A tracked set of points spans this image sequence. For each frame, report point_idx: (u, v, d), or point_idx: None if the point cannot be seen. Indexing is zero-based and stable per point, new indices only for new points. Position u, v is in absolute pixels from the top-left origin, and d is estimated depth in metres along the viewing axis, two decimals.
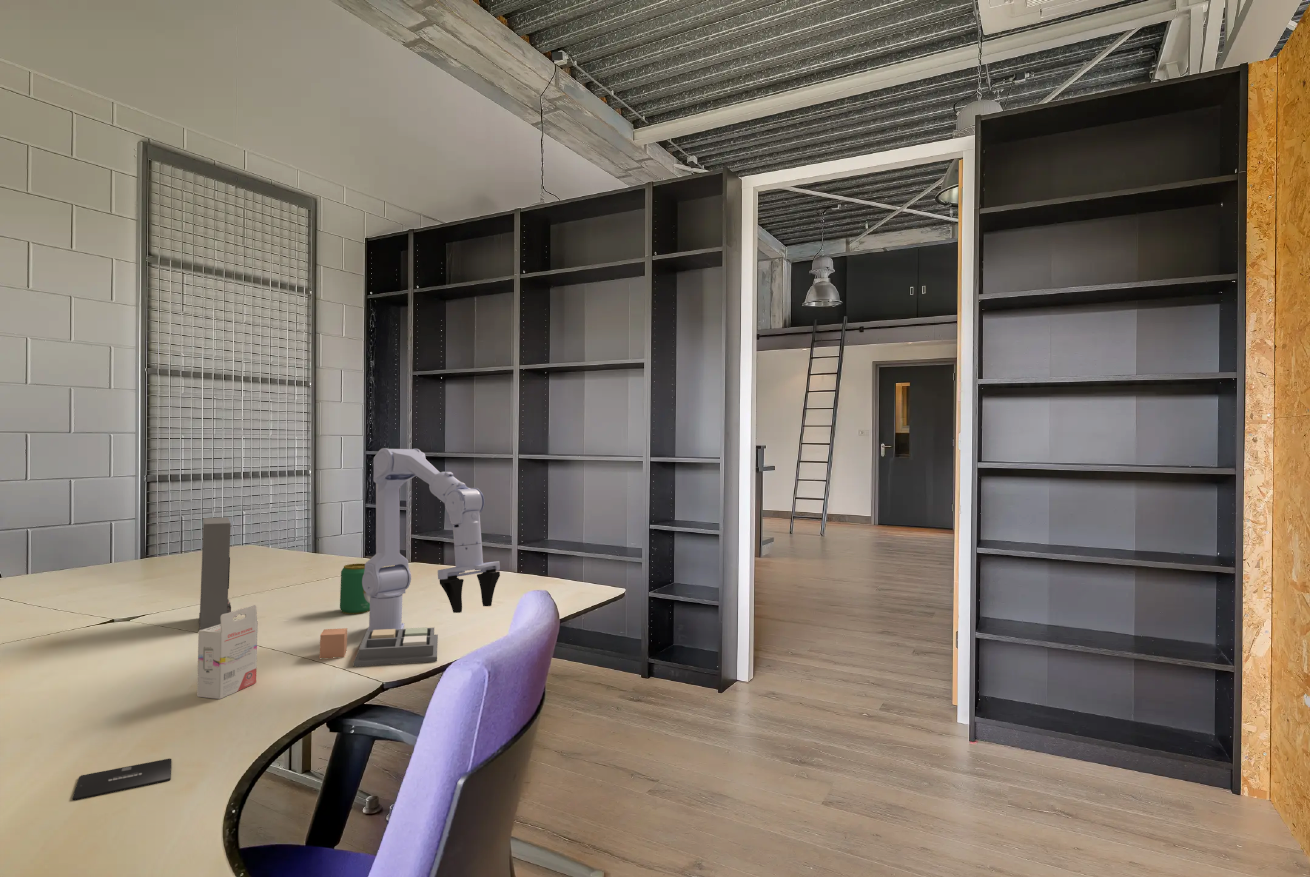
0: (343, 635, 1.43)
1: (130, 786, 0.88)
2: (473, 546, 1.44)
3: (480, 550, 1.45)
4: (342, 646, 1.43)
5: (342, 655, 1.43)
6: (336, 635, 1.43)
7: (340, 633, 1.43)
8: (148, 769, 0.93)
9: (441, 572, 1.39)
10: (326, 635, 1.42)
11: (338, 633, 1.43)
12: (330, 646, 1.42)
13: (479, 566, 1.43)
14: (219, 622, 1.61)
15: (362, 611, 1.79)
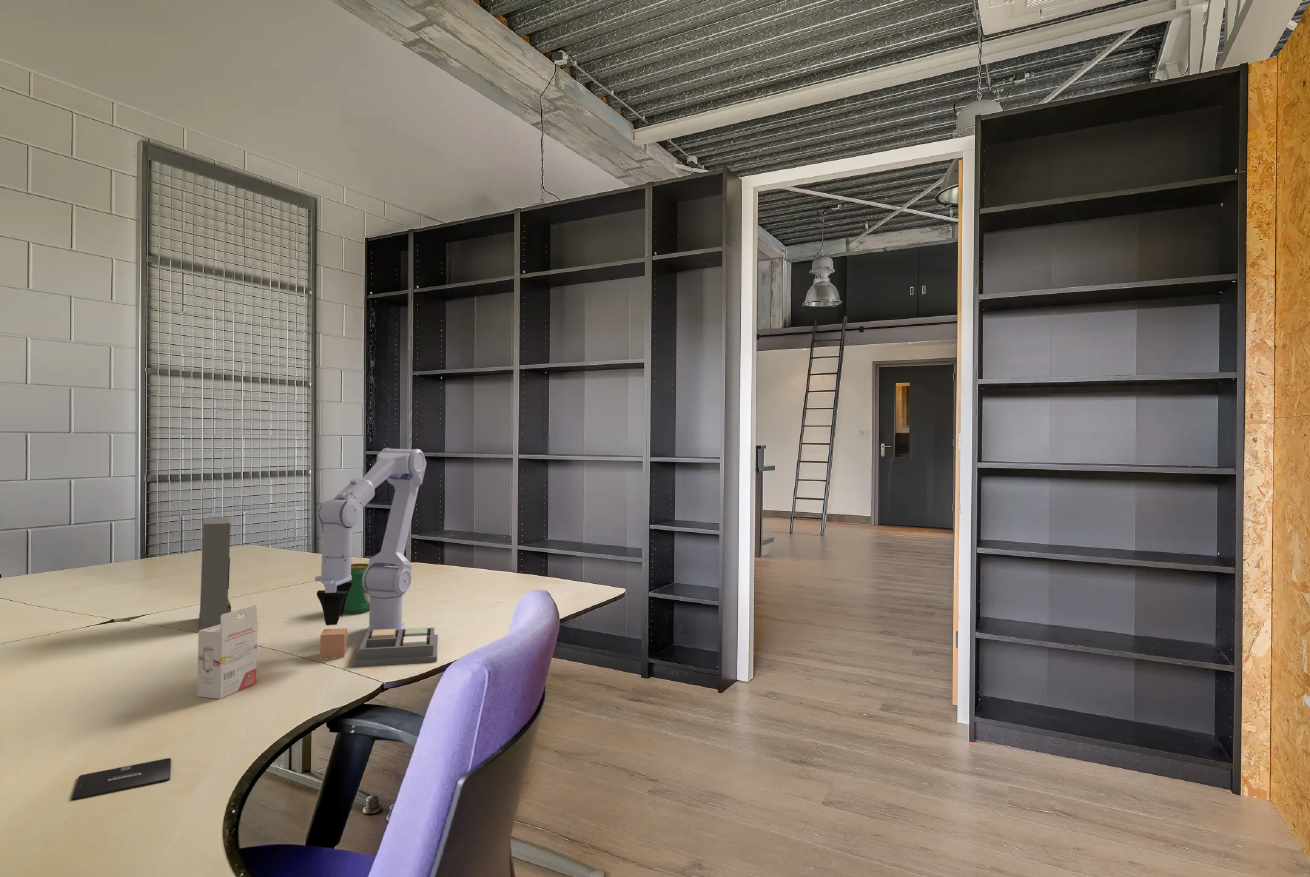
0: (343, 635, 1.43)
1: (129, 786, 0.88)
2: None
3: (322, 563, 1.43)
4: (342, 646, 1.43)
5: (342, 655, 1.43)
6: (336, 635, 1.43)
7: (340, 633, 1.43)
8: (147, 769, 0.93)
9: None
10: (326, 635, 1.42)
11: (338, 633, 1.43)
12: (330, 646, 1.42)
13: None
14: (219, 622, 1.61)
15: (362, 611, 1.79)
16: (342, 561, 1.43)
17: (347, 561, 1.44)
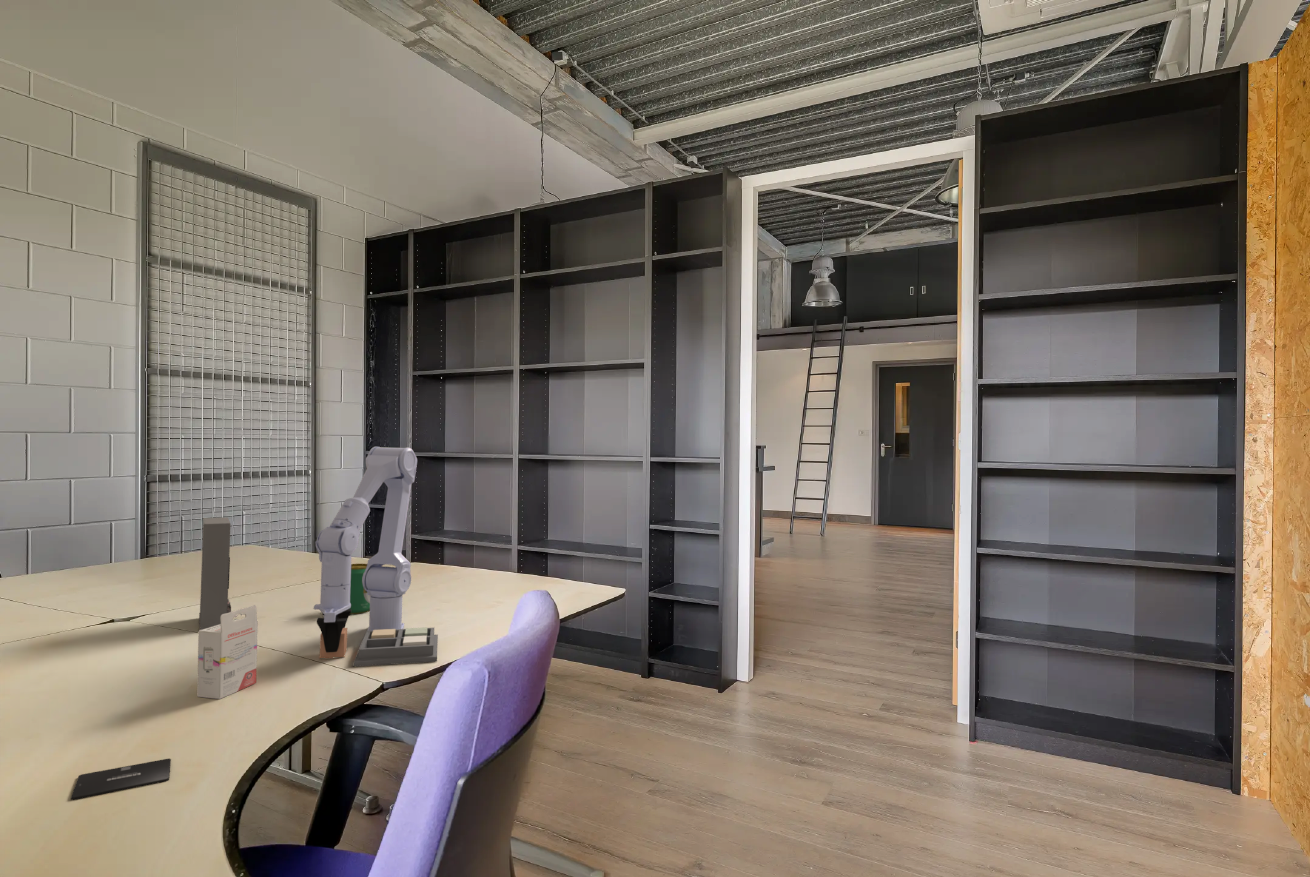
0: (343, 635, 1.43)
1: (128, 786, 0.88)
2: None
3: (321, 592, 1.43)
4: (342, 646, 1.43)
5: (342, 655, 1.43)
6: None
7: None
8: (147, 769, 0.93)
9: None
10: None
11: None
12: None
13: None
14: (219, 622, 1.61)
15: (362, 611, 1.79)
16: (341, 589, 1.43)
17: (346, 589, 1.44)
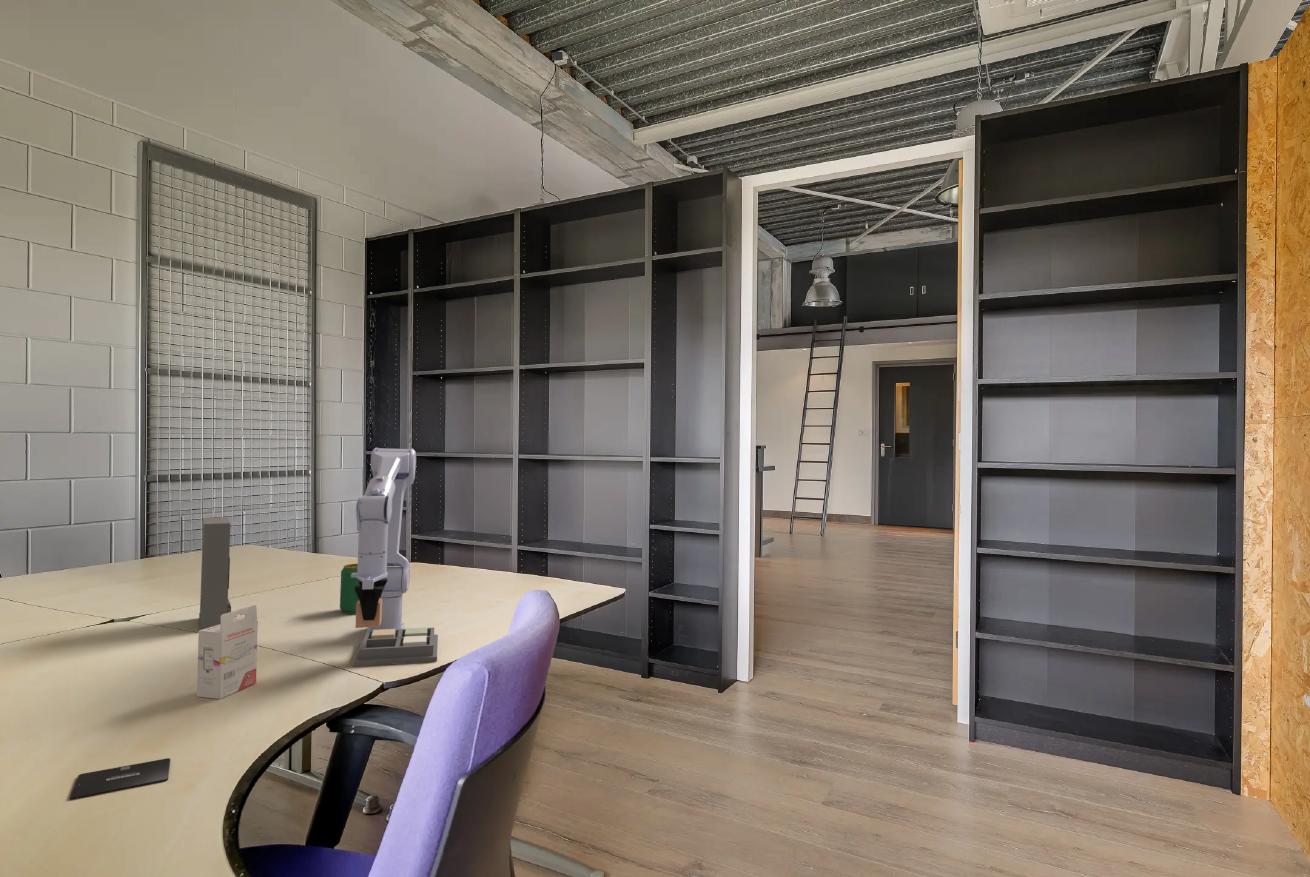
0: (379, 604, 1.42)
1: (127, 786, 0.88)
2: None
3: (358, 560, 1.42)
4: (378, 615, 1.42)
5: (378, 624, 1.42)
6: None
7: None
8: (146, 769, 0.93)
9: None
10: None
11: None
12: None
13: None
14: (219, 622, 1.61)
15: None
16: (378, 557, 1.42)
17: (383, 557, 1.43)
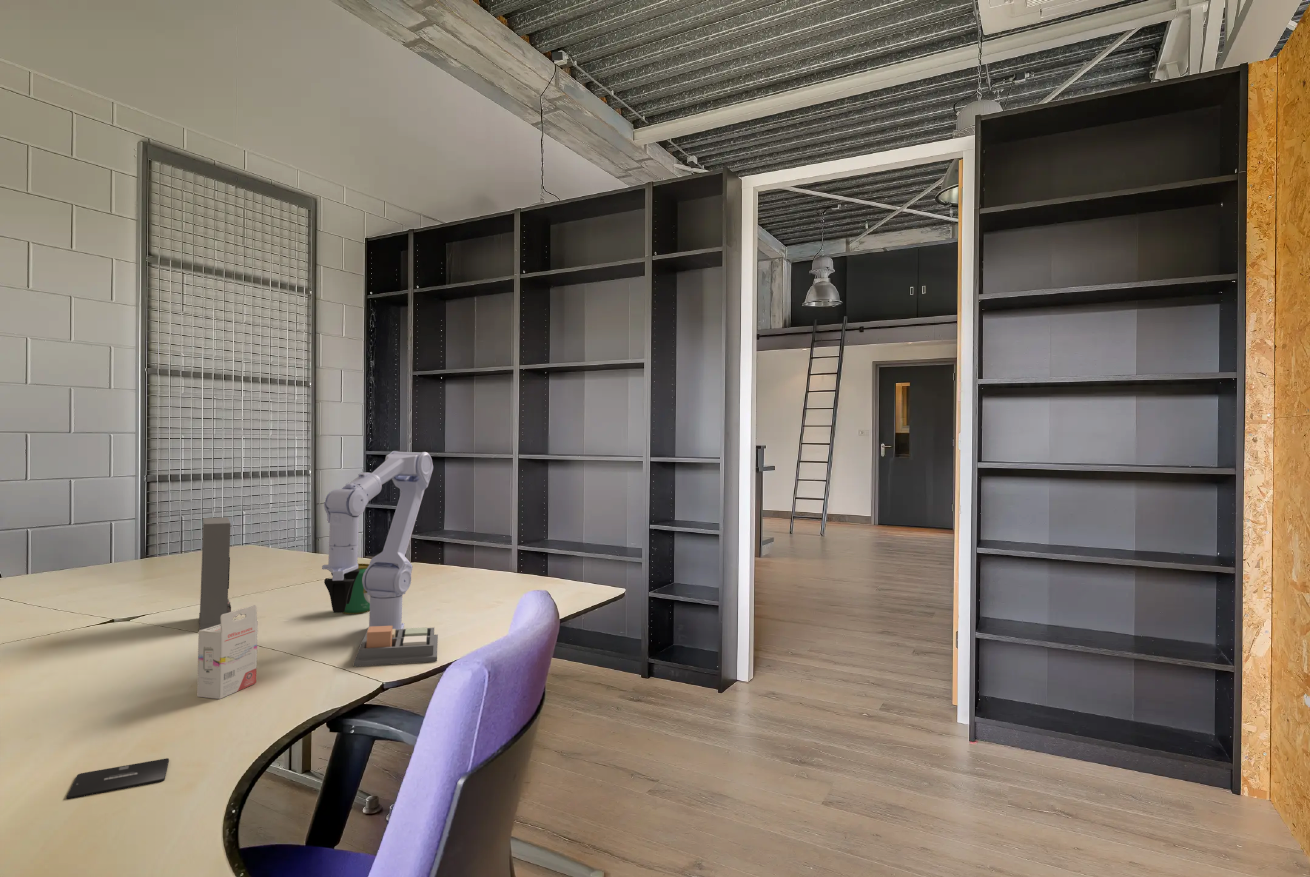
0: (389, 632, 1.42)
1: (124, 786, 0.88)
2: None
3: (329, 552, 1.45)
4: (388, 643, 1.42)
5: None
6: (382, 632, 1.42)
7: (386, 630, 1.42)
8: (144, 769, 0.93)
9: None
10: (373, 632, 1.41)
11: (384, 630, 1.42)
12: (376, 644, 1.41)
13: None
14: (219, 622, 1.61)
15: (362, 611, 1.79)
16: (349, 550, 1.45)
17: (354, 550, 1.46)
